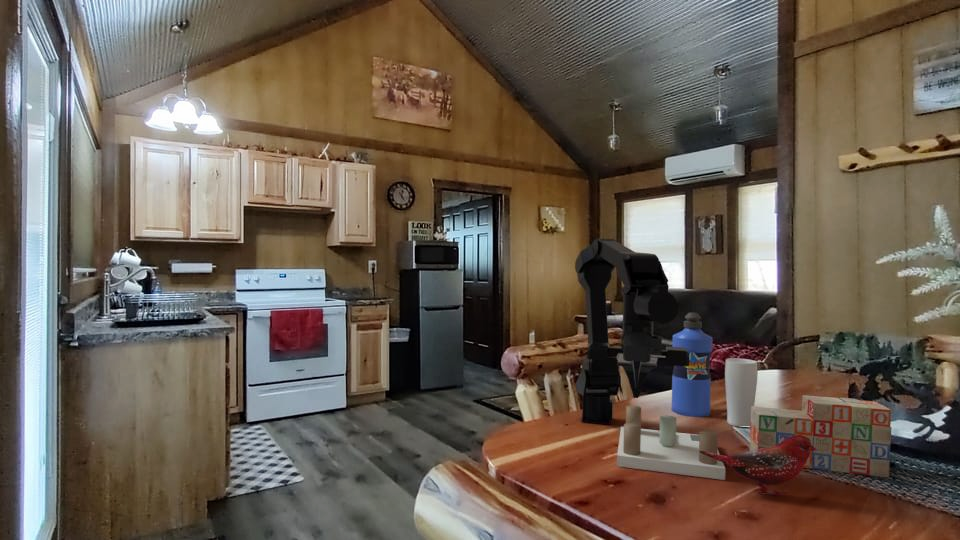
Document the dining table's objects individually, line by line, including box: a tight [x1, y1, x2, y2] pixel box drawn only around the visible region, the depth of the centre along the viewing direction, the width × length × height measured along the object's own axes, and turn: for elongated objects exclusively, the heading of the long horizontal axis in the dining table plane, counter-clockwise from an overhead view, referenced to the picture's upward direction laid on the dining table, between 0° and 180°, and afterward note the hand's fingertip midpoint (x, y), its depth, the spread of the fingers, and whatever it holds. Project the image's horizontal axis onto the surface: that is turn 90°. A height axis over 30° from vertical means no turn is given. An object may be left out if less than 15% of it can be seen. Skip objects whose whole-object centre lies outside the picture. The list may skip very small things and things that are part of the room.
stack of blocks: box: [749, 394, 892, 478], centre depth 99 cm, size 21×6×12 cm, turn 74°
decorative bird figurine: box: [699, 435, 817, 496], centre depth 86 cm, size 3×18×10 cm, turn 80°
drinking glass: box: [724, 357, 759, 427], centre depth 123 cm, size 7×7×15 cm
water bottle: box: [671, 311, 714, 418], centre depth 133 cm, size 9×9×25 cm
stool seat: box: [616, 405, 726, 481], centre depth 102 cm, size 18×18×7 cm
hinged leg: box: [658, 414, 677, 446], centre depth 105 cm, size 9×3×5 cm, turn 163°
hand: (636, 397), depth 103 cm, fingers closed
